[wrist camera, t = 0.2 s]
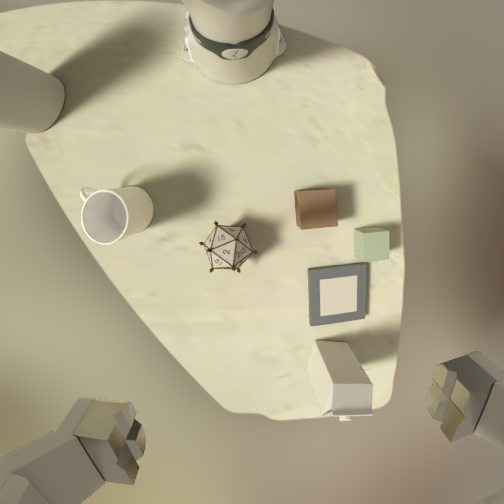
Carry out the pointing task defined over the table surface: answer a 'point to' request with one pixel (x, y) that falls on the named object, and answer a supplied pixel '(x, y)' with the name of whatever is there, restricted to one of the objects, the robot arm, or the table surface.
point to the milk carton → (339, 381)
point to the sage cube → (371, 244)
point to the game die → (227, 247)
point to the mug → (115, 213)
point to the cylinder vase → (28, 96)
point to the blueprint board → (337, 293)
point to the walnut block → (316, 208)
